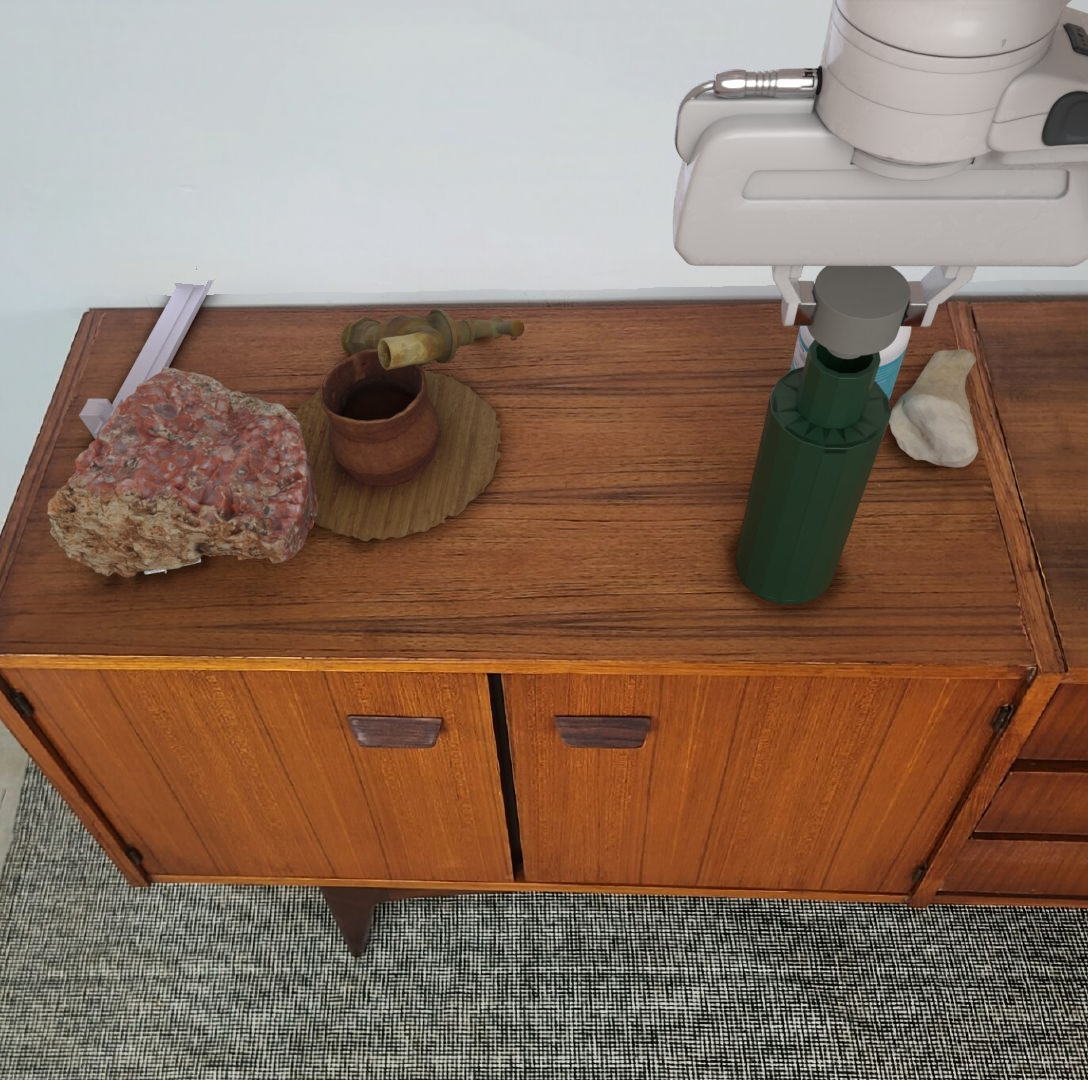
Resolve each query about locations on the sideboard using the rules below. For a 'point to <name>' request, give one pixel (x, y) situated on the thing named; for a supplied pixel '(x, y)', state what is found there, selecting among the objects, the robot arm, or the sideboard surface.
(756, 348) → the sideboard surface
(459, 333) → the faucet
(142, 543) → the rock
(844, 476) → the bottle
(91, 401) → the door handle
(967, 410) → the beige lumpy piece
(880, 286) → the cylinder
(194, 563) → the card
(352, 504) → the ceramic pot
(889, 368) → the pill bottle
